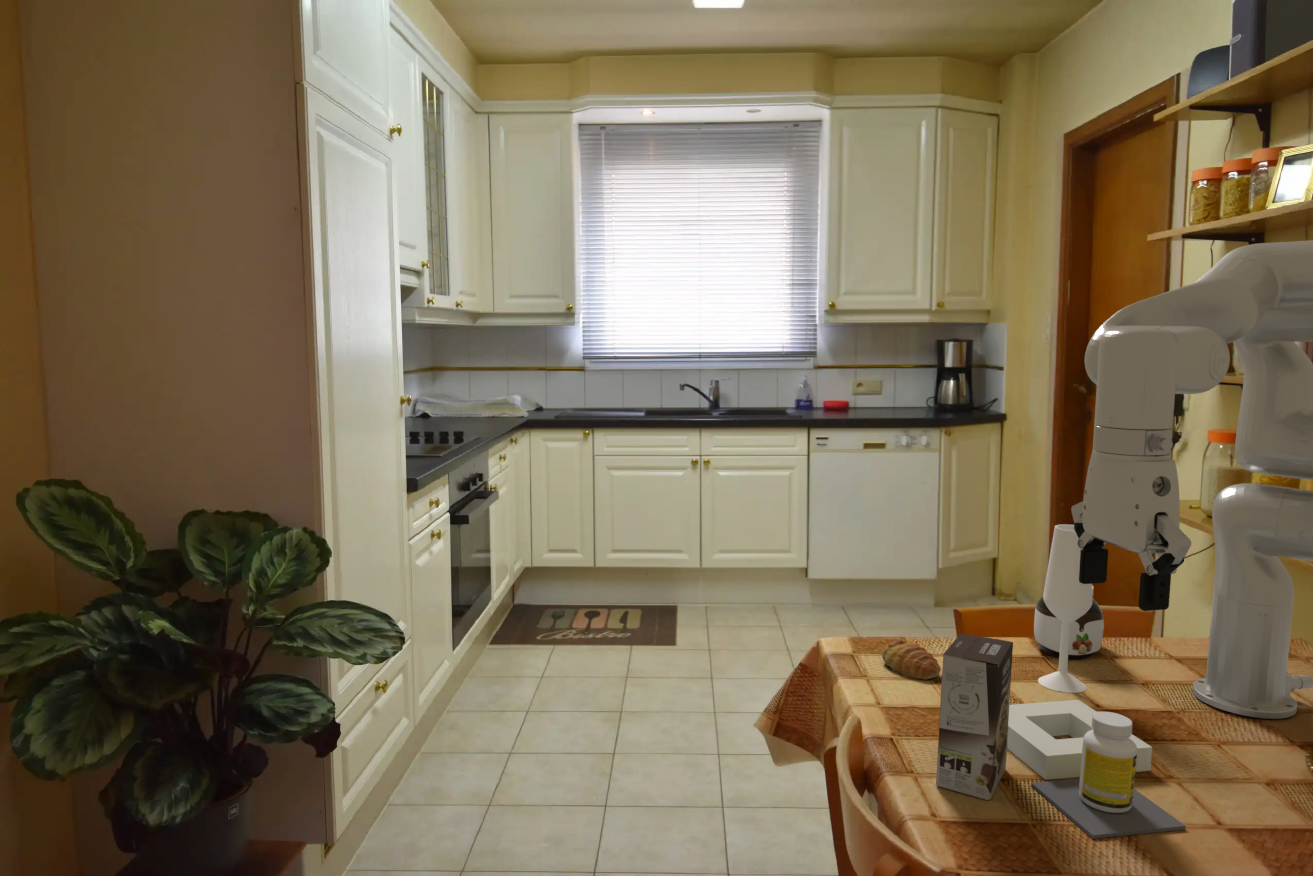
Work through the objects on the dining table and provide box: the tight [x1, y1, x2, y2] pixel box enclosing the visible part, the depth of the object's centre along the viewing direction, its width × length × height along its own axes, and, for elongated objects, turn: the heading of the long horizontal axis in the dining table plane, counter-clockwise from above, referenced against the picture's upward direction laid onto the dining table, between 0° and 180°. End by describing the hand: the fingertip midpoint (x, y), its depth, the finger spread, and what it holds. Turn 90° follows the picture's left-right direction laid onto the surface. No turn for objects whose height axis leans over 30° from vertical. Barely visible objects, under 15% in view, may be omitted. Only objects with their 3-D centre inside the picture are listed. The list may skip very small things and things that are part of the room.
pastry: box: [882, 639, 942, 680], centre depth 139 cm, size 9×7×4 cm
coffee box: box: [935, 633, 1014, 801], centre depth 105 cm, size 9×6×16 cm
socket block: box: [1007, 699, 1153, 781], centre depth 113 cm, size 14×14×3 cm
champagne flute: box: [1037, 523, 1093, 694], centre depth 133 cm, size 7×7×24 cm
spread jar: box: [1033, 585, 1105, 661], centre depth 148 cm, size 12×11×12 cm
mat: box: [1030, 777, 1186, 840], centre depth 99 cm, size 11×11×1 cm
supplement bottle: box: [1079, 711, 1137, 813], centre depth 99 cm, size 5×5×10 cm
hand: (1121, 595), depth 99 cm, fingers open, 9 cm apart
